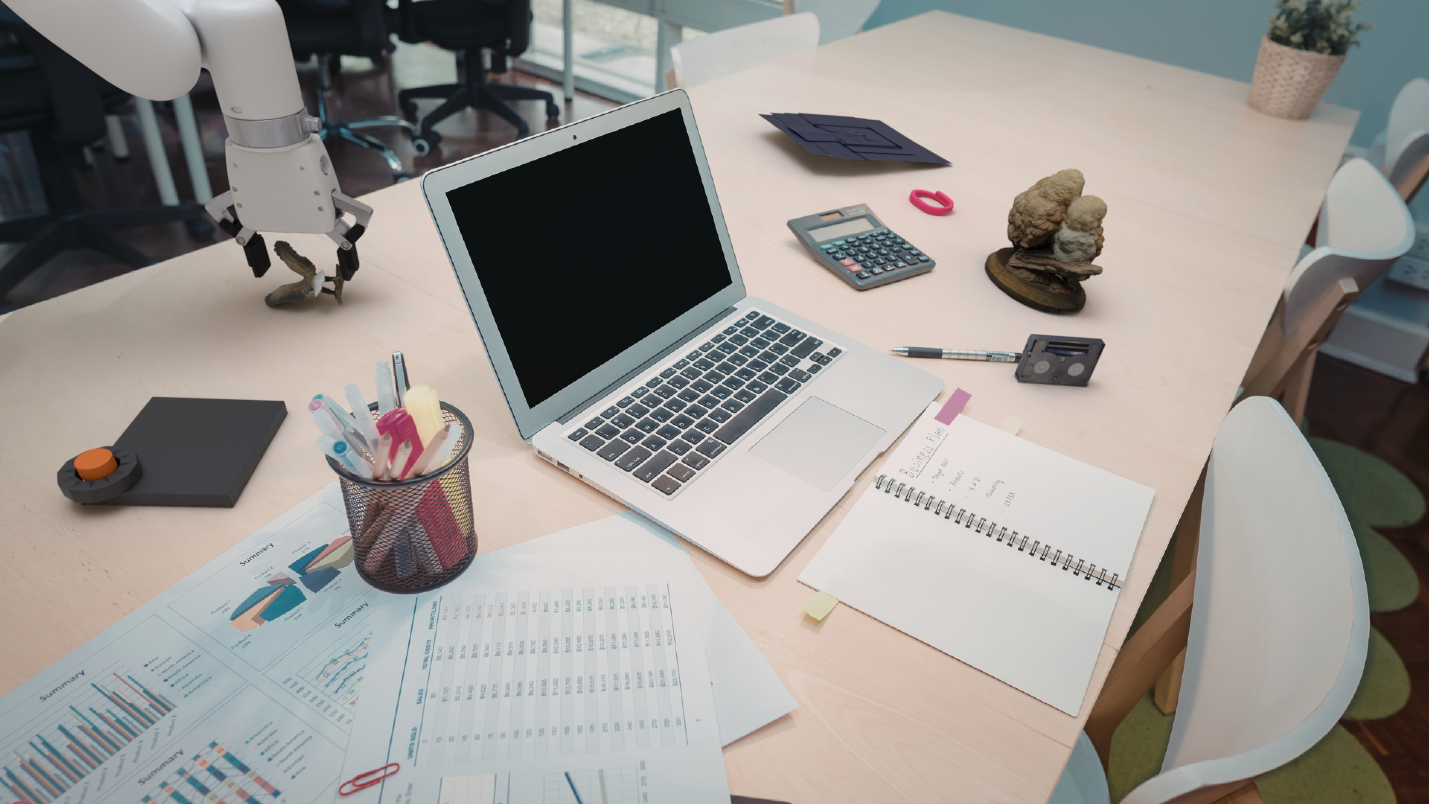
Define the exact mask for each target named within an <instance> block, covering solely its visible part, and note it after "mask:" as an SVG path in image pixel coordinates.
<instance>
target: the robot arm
mask: <svg viewBox="0 0 1429 804" xmlns="http://www.w3.org/2000/svg"><path fill="white" fill-rule="evenodd" d="M0 1H1V2H2V3H3V4H5V6H7V7H8V8H9V9H10V10H12V11H13V13H15V14H16V15H17V16H18V17H20V19H22V20H23V21H24V22H26V23H27V24H28V25H29V26H30V27H32V28H33V29H34V30H35V31H37V32H38V33H39V34H40V35H42V36H43V37H45V38H46V39H47V40H49V41H50V42H51V43H52V44H54V45H55V46H57V47H58V48H60V49H61V50H62V51H64V52H65V53H66V54H68V55H69V56H71V57H72V58H74V59H76V60H77V61H78V62H80V63H81V64H83V65H84V66H85V67H86V68H88V69H90V70H91V71H92V72H94V73H95V74H96V75H98V76H99V77H101V78H102V79H104V80H105V81H107V82H108V83H110V84H112V85H113V86H115V87H117V89H118V88H119V89H120V90H122V91H124V92H125V93H128V94H130V95H133V96H135V97H138V98H141V99H145V100H149V101H156V102H157V101H158V102H162V101H171V100H177V99H178V98H180V97H183V96H185V95H186V94H188V93H189V92H190V91H191V90H192V89H193V88H194V87H195V85H196V84H197V82H198V81H199V78H200V75H201V70H202V69H203V68H204V69H206V70H207V71H208V72H209V73H210V76H211V79H212V83H213V86H214V90H215V93H216V97H217V100H218V103H219V107H220V110H221V113H222V117H223V120H224V123H225V127H226V130H227V134H228V136H227V138H226V139H225V141H224V149H225V151H224V152H225V163H226V173H227V178H228V184H229V190H227V191H225V192H223V193H221V194H219V195H217V196H215V197H213V198H211V199H209V201H208V202H206V203H205V204H204V208H205V210H206V212H207V213H208V214H209V215H210V216H211V218H213V219H214V221H215V222H218V226H219V228H220V229H221V230H223V231H224V232H225V233H227V234H228V235H229V236H231V237H233V238H234V242H235V243H236V244H237V245H238V246H240V247H241V246H242V250H243V252H244V255H245V258H246V262H247V265H248V267H249V268H251V270H252V272H253V276H254V278H256V279H258V278H259V279H261V278H263V277H264V276H265V275H266V274H267V272H268V271H269V269H270V268H271V266H272V262H271V259H270V255H269V252H268V248H267V245H266V241H265V238H264V236H263V234H262V233H279V234H280V233H281V234H302V235H305V234H306V235H326V236H327V237H328V238H329V239H331V240H332V242H334V243H336V245H337V246H338V247H337V249H336V257H337V261H338V265H339V266H340V270H341V274H342V278H343V280H344V282H351V280H352V279H353V277H354V276H355V274H356V272H358V271H359V269H360V265H361V264H360V259H359V254H358V249H357V244H356V242H358V240H360V238H362V237H363V235H364V234H365V232H366V231H367V229H368V227H369V224H370V223H371V219H372V217H373V214H374V208H373V207H372V206H370V205H367V204H366V203H364V202H361V201H360V200H357V199H356V198H355V199H354V198H352V197H350V196H349V195H346V194H344V193H343V192H342V190H341V187H340V184H339V180H338V178H337V174H336V172H335V168H334V165H333V163H332V159H331V158H330V155H329V153H328V151H327V149H326V146H325V144H324V141H323V140H322V138H321V136H320V135H319V134H318V133H314V132H321V131H322V130H323V122H322V121H323V120H322V119H321V117H316V116H315V117H314V116H313V115H310V114H309V112H308V108H307V107H308V106H305V103H304V98H303V95H302V90H301V86H300V82H299V79H298V74H297V68H296V65H295V61H294V56H293V52H292V48H291V43H290V39H289V38H290V37H289V35H288V30H287V26H286V21H285V17H284V14H283V10H282V8H281V6H280V5H279V3H278V2H277V1H276V0H0ZM233 205H234V209H235V212H236V215H237V217H236V216H235V215H234V214H231V213H230V211H229V210H228V207H231V206H233ZM346 213H347V214H350V215H352V216H354V218H355V222H354V224H353V226H351V225H350V224H348V222H347V221H345V220H344V219H343V218H344V217H345V214H346ZM258 232H262V233H258Z"/></svg>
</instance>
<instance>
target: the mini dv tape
mask: <svg viewBox="0 0 1429 804" xmlns="http://www.w3.org/2000/svg"><path fill="white" fill-rule="evenodd" d="M1105 347H1106V343H1105V342H1104V340H1103V339H1102V338H1096V337H1085V336H1084V337H1083V336H1067V335H1053V334H1038V333H1030V334H1029V335H1028V338H1027V340H1026V343H1025V345H1024V348H1023V350H1022V353H1021V356H1020V359H1019V361H1018V363H1017V366H1016V368H1015V371H1014V376H1015V378H1016V380H1017V383H1024V384H1025V383H1026V384H1041V385H1052V386H1069V387H1070V386H1071V387H1081V388H1083V387H1084V388H1086V387H1087V386H1088V384H1089V382H1090V380H1091V378H1092V376H1093V374H1094V371H1095V369H1096V367H1097V365H1098V363H1099V361H1100V359H1101V356H1102V355H1103V351H1104V349H1105Z"/></svg>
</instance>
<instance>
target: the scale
mask: <svg viewBox="0 0 1429 804" xmlns="http://www.w3.org/2000/svg"><path fill="white" fill-rule="evenodd" d="M288 414H289V412H288V408H287V405H286V402H285V400H273V399H272V400H271V399H270V400H267V399H236V398H212V397H211V398H209V397H207V398H206V397H203V398H202V397H177V396H176V397H175V396H173V397H172V396H152V397H150V399H149V400H148V402H147V403H146V404H145V405H144V406H143V407H142V409H141V410H140V411H139V413H137V415H136V416H135V417H134V419H133V420H132V421H131V422H130V424H129V425H128V426H127V427H126V429H124V431H123V432H122V433H121V435H120V436H119V437H118V438H117V439H116V441H115V442H114V443H113V445H104V446H100V447H96V448H95V449H98V448H103V449H108V450H109V451H111V452H112V454H113V457H114V459H115V461H116V463H117V469H116V471H115V472H113V473H112V474H110V475H108V476H106V477H105V478H101V479H98V480H94V481H86V480H83V479H82V478H81V477H80V475H79V473H78V471H77V469H76V467H75V466H74V461H75V459H76V458H77V457H78V456H79V455H81V454H82V453H84V452H85V451H83V452H80V453H79V454H77V455H76V456H74V457H72V458H70V459H68V460H67V461H65V463H64V464H63V465H62V466H61V467H60V468H59V470H58V471H57V472H56V483H57V486H58V488H59V489H60V491H61V493H62V496H64V497H65V498H67V499H69V500H71V501H72V502H74V503H77V504H78V503H79V504H81V506H113V507H114V506H115V507H116V506H117V507H119V506H120V507H121V506H122V507H162V508H165V507H166V508H168V507H169V508H170V507H172V508H210V509H211V508H215V509H221V508H222V509H234V507H235V506H236V504H237V503H238V501H239V499H240V497H241V495H242V494H243V492H244V491H245V489H246V487H247V485H248V483H249V481H250V480H251V478H252V477H253V475H254V473H255V472H256V469H257V468H258V466H259V464H260V463H261V461H262V459H263V458H264V456H265V454H266V452H267V450H268V449H269V447H270V445H271V444H272V442H273V440H274V438H275V437H276V435H277V433H278V431H279V430H280V428H281V426H282V424H284V423H283V422H285V419H286V417H287V416H288ZM89 450H90V449H88V450H87V451H89Z"/></svg>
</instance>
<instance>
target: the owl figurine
mask: <svg viewBox="0 0 1429 804" xmlns="http://www.w3.org/2000/svg"><path fill="white" fill-rule="evenodd" d="M1085 184H1086V179H1085V178H1084V173H1083V172H1081V170H1079V169H1077V168H1067V169H1061V170H1058V171H1057V172H1056V173H1053V174H1052V175H1050V176H1045V177H1043V178H1041V179H1039V180H1037V181H1036V183H1034V185H1031V186H1030V187H1029V188H1027V189H1026V190H1024V191H1023V192H1020V193H1019V194H1016V195H1015V197H1014V199H1013V203H1012V207H1011V208H1010V209H1009V212H1008V215H1007V222H1008V224H1007V230H1006V233H1007V239H1008V241H1009V242H1011V244H1012V246H1006V247H1001V248H999V249H998V250H996V251H993V252H991V253H990V254H988V256H987V257H986V260H985V262H984V268H985V271H986V274H987V275H988V277H989V279H990V280H991V281H992V282H993V284H995V285H996V286H997V287H998V288H999V289H1001V290H1002V291H1003V292H1005V293H1006V294H1007V295H1008V296H1010V297H1011V298H1013V299H1015V300H1017V301H1019V302H1021V303H1022V304H1024V305H1027V306H1029V307H1032V308H1035V309H1037V310H1040V311H1043V312H1053V313H1055V314H1056V313H1057V314H1060V313H1068V312H1069V313H1070V312H1079V311H1081V310H1083V308H1084V307H1085V305H1086V302H1087V294H1086V290H1085V288H1084V287H1083V286H1082V283H1081V282H1086V281H1087V280H1089V279H1090V278H1091V276H1099V275H1101V274H1103V271H1104V268H1103V267H1102V266H1100V265H1097V264H1093V262H1094V261H1095V259H1096V258H1098V257H1099V256H1100V255H1102V250H1103V248H1104V242H1105V241H1106V239H1105V236H1104V235H1103V234H1104V232H1105V231H1104V227H1103V226H1102V224H1103V220H1104V219H1105V218H1106V216H1107V214H1108V205H1107V204H1106V202H1105V201H1104V200H1103V199H1102V198H1101V197H1099V196H1096V195H1094V194H1084V195H1082V194H1083V191H1084V187H1085ZM1056 276H1059V277H1060V278H1061V279H1060V278H1057V277H1056Z"/></svg>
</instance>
